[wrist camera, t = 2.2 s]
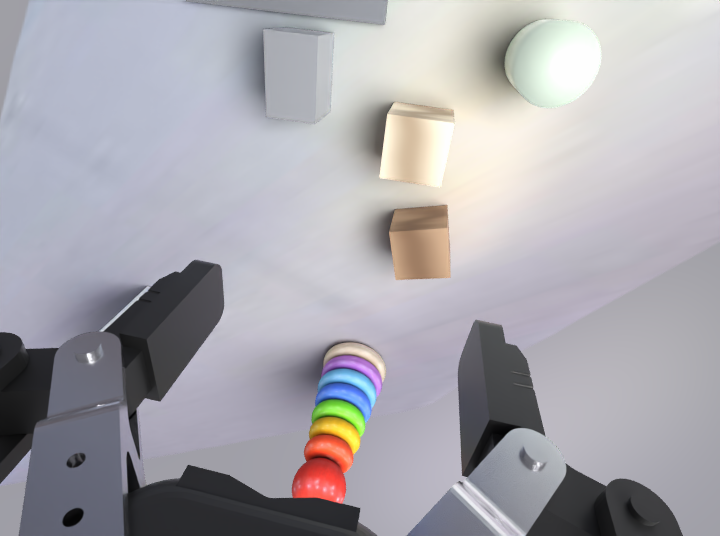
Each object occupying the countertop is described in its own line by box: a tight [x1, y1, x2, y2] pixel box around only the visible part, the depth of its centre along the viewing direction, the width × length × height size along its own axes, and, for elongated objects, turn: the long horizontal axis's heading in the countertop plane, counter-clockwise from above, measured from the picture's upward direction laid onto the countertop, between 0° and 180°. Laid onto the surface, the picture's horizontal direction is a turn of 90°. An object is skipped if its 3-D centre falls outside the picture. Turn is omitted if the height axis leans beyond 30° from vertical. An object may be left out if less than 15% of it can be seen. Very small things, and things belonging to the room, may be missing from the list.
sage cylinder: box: [504, 19, 601, 108], centre depth 28 cm, size 5×5×6 cm
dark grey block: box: [263, 27, 334, 124], centre depth 32 cm, size 4×6×5 cm, turn 174°
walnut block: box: [389, 205, 450, 280], centre depth 38 cm, size 5×5×5 cm
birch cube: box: [379, 102, 455, 188], centre depth 33 cm, size 5×5×5 cm
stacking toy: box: [292, 342, 386, 504], centre depth 44 cm, size 8×8×19 cm
